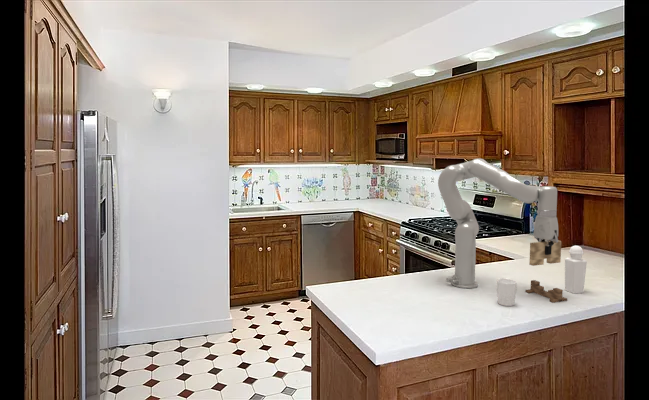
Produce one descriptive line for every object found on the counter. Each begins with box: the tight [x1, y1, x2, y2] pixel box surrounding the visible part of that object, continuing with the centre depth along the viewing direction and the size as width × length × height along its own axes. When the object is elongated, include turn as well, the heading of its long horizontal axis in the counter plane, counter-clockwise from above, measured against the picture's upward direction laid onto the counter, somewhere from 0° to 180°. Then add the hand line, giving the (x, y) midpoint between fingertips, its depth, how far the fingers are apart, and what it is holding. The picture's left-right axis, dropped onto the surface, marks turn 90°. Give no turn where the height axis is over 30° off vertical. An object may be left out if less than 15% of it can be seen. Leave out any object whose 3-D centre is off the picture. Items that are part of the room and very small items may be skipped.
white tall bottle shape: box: [564, 245, 588, 294], centre depth 206 cm, size 6×6×22 cm
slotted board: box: [529, 239, 562, 267], centre depth 199 cm, size 16×2×10 cm, turn 109°
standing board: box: [525, 279, 568, 304], centre depth 200 cm, size 16×8×5 cm, turn 19°
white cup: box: [496, 278, 518, 307], centre depth 190 cm, size 8×8×10 cm
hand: (545, 253), depth 199 cm, fingers closed on slotted board, 2 cm apart
